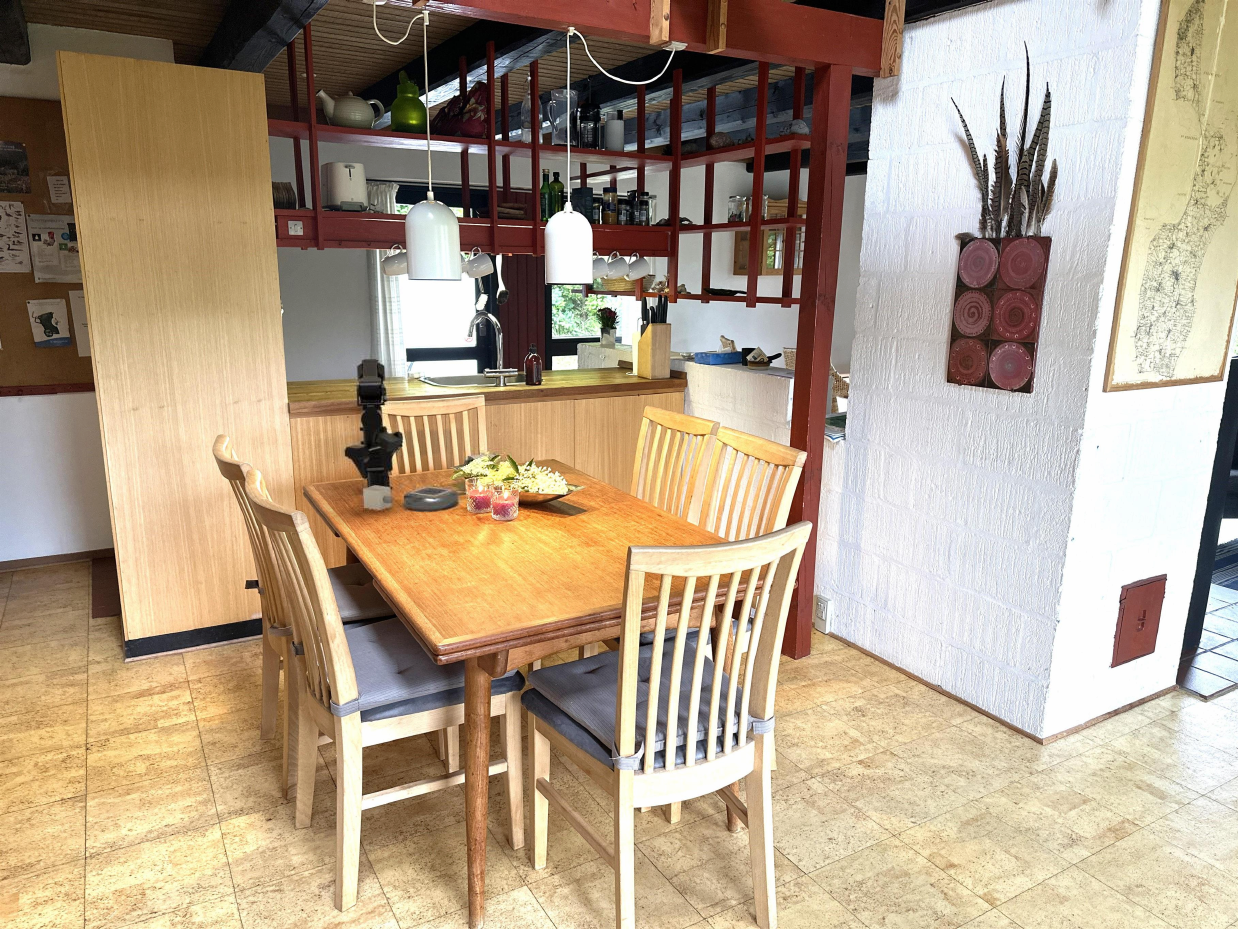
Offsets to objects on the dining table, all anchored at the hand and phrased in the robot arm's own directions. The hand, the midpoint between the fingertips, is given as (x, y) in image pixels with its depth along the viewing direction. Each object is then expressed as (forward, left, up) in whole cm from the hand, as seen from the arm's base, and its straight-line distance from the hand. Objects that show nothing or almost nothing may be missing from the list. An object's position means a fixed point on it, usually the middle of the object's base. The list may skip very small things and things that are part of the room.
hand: (375, 475), depth 250 cm
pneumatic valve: (+16, +32, -10) cm, 37 cm away
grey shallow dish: (+12, +10, -10) cm, 18 cm away
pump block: (0, 0, -10) cm, 10 cm away
